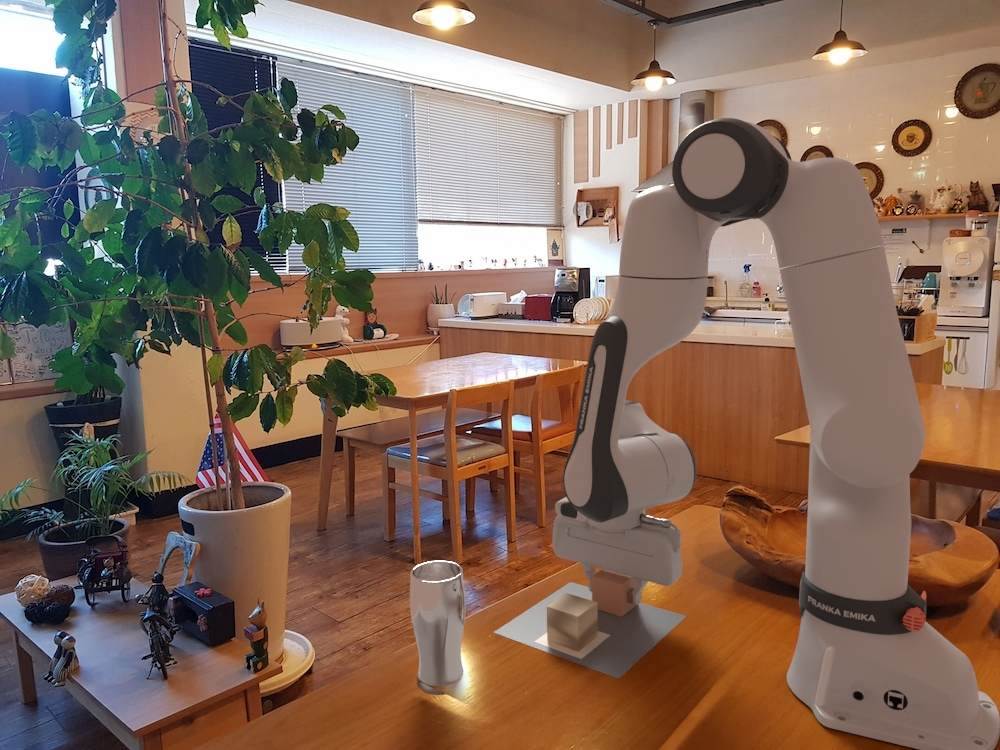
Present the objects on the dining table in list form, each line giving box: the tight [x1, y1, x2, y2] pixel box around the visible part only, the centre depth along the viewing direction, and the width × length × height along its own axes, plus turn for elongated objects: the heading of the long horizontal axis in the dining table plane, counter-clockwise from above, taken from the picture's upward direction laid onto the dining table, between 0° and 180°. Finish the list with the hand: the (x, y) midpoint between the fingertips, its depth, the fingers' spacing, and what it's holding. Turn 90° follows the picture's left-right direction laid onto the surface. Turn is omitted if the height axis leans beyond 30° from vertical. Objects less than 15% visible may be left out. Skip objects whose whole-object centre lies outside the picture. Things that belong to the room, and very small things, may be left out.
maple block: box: [547, 593, 598, 651], centre depth 103 cm, size 5×5×5 cm
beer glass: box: [409, 560, 467, 696], centre depth 94 cm, size 7×7×15 cm
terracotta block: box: [592, 569, 637, 617], centre depth 112 cm, size 5×5×5 cm
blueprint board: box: [493, 581, 687, 680], centre depth 107 cm, size 20×20×1 cm
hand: (615, 597), depth 112 cm, fingers closed on terracotta block, 5 cm apart
